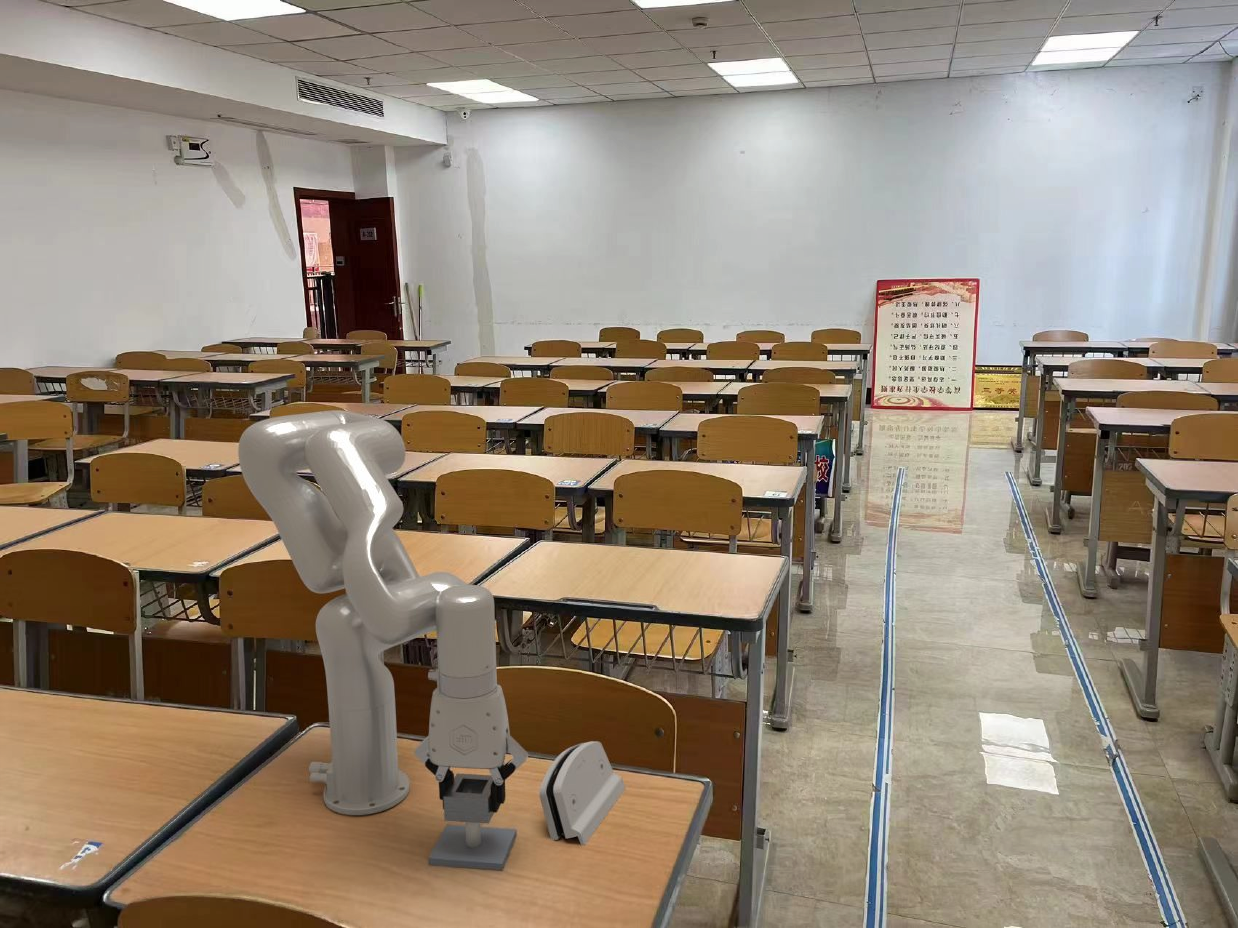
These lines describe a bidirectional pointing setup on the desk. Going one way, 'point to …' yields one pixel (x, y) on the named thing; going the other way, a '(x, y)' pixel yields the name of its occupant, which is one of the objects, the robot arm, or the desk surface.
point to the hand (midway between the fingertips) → (472, 804)
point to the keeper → (473, 847)
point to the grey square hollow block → (469, 799)
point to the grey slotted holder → (579, 791)
